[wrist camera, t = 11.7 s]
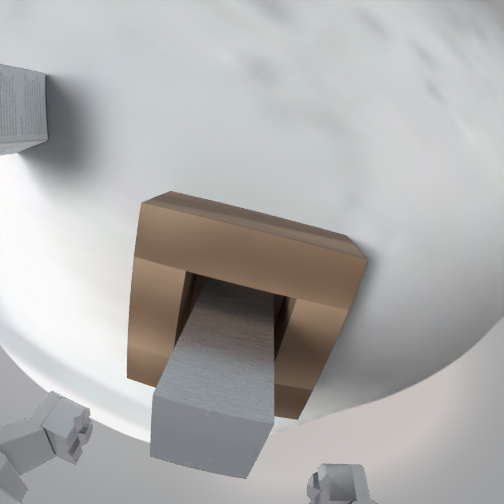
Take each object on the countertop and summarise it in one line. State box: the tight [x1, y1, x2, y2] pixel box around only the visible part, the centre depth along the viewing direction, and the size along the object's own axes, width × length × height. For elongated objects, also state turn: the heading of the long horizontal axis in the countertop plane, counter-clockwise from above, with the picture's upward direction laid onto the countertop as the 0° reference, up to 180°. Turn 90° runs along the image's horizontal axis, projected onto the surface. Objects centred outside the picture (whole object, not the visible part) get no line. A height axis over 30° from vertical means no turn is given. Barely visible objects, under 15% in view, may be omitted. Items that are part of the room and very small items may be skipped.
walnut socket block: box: [127, 191, 368, 420], centre depth 20 cm, size 12×12×5 cm
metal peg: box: [150, 277, 274, 479], centre depth 15 cm, size 4×4×12 cm
